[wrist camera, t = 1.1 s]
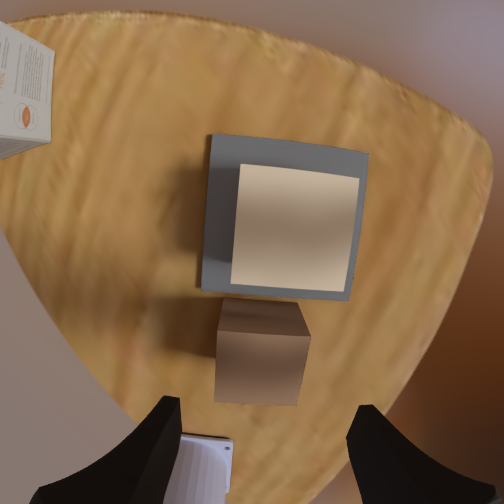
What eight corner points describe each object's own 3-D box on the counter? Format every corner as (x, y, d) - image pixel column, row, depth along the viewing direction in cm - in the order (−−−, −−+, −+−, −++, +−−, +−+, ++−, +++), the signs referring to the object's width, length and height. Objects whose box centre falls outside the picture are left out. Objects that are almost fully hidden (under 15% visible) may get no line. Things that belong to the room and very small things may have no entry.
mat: (346, 299, 21) (348, 301, 20) (201, 288, 20) (201, 290, 20) (366, 153, 19) (368, 153, 18) (213, 135, 18) (212, 134, 18)
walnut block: (287, 363, 22) (296, 405, 17) (220, 359, 22) (214, 401, 17) (297, 302, 21) (310, 336, 16) (223, 296, 21) (217, 330, 16)
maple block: (325, 271, 20) (343, 291, 16) (233, 263, 20) (230, 283, 16) (337, 179, 19) (359, 178, 15) (241, 168, 18) (240, 163, 14)
